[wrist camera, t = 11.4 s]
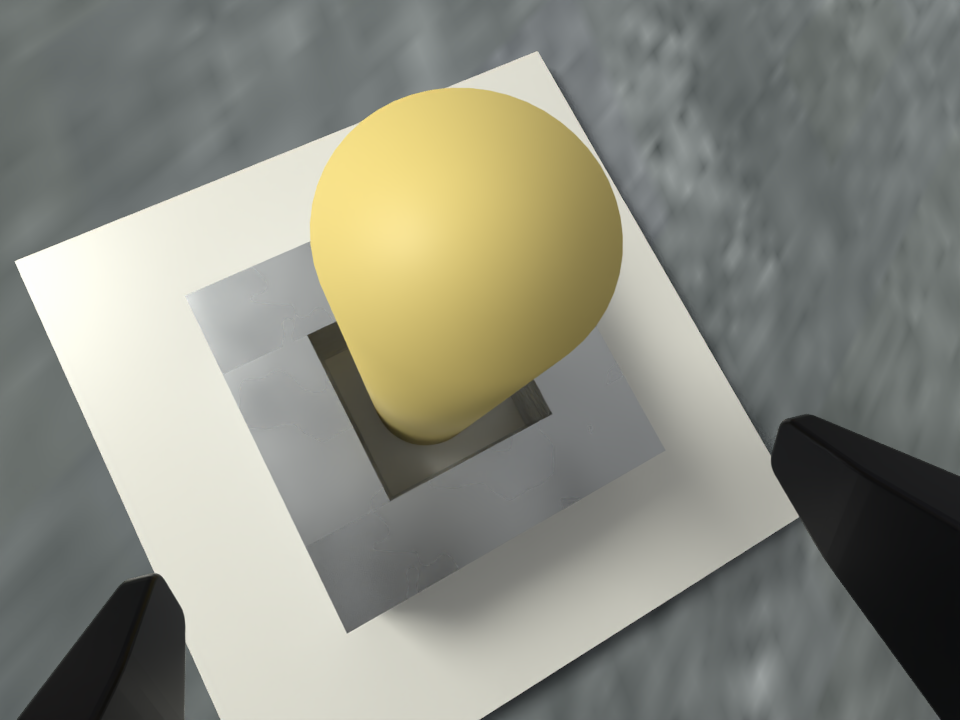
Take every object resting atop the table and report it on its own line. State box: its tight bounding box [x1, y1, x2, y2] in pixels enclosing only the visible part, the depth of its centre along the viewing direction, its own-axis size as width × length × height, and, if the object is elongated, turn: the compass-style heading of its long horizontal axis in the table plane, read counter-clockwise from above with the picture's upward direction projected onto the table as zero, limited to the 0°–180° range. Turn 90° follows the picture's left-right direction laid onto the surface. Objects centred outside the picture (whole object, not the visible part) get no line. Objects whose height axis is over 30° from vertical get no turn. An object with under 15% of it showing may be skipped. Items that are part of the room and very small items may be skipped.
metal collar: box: [185, 241, 665, 633], centre depth 17 cm, size 9×9×4 cm
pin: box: [310, 88, 623, 445], centre depth 13 cm, size 3×3×13 cm
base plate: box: [15, 51, 799, 720], centre depth 19 cm, size 18×18×1 cm
